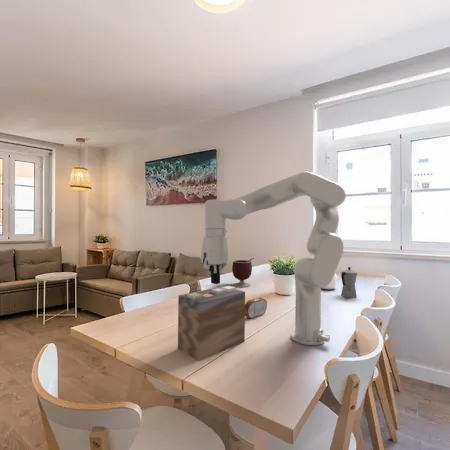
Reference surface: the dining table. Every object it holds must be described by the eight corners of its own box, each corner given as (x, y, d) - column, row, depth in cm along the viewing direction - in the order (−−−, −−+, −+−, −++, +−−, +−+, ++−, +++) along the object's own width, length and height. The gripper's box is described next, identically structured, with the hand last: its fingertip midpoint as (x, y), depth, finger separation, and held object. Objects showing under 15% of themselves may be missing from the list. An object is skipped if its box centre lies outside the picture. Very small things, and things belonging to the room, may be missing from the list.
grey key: (225, 296, 109) (225, 289, 109) (218, 297, 106) (218, 291, 106) (218, 294, 111) (218, 287, 111) (211, 295, 109) (211, 289, 109)
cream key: (235, 293, 113) (235, 287, 112) (228, 295, 110) (228, 289, 110) (228, 291, 115) (228, 285, 115) (221, 293, 113) (221, 287, 113)
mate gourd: (229, 286, 202) (230, 257, 202) (234, 282, 215) (235, 255, 215) (251, 288, 198) (252, 259, 197) (255, 284, 211) (256, 256, 211)
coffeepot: (346, 292, 189) (347, 265, 189) (361, 295, 182) (362, 267, 181) (334, 296, 179) (334, 267, 179) (348, 299, 172) (349, 269, 172)
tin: (262, 312, 146) (263, 295, 146) (267, 313, 144) (268, 296, 144) (242, 319, 136) (243, 301, 136) (247, 320, 134) (248, 302, 134)
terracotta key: (214, 302, 105) (214, 295, 105) (206, 304, 102) (206, 297, 102) (207, 299, 108) (207, 293, 108) (199, 301, 105) (199, 295, 105)
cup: (319, 285, 210) (320, 266, 210) (339, 288, 202) (339, 268, 202) (313, 288, 199) (314, 269, 199) (333, 291, 192) (334, 271, 192)
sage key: (202, 301, 101) (202, 294, 101) (194, 303, 98) (194, 296, 98) (195, 299, 104) (196, 292, 104) (187, 301, 101) (187, 294, 101)
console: (244, 341, 110) (245, 291, 110) (199, 360, 95) (200, 302, 95) (222, 332, 119) (223, 286, 119) (177, 348, 104) (178, 295, 103)
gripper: (222, 232, 115) (222, 278, 115) (193, 233, 104) (193, 285, 105) (236, 233, 110) (236, 281, 110) (207, 234, 99) (207, 288, 99)
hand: (215, 283), depth 107 cm, fingers closed
